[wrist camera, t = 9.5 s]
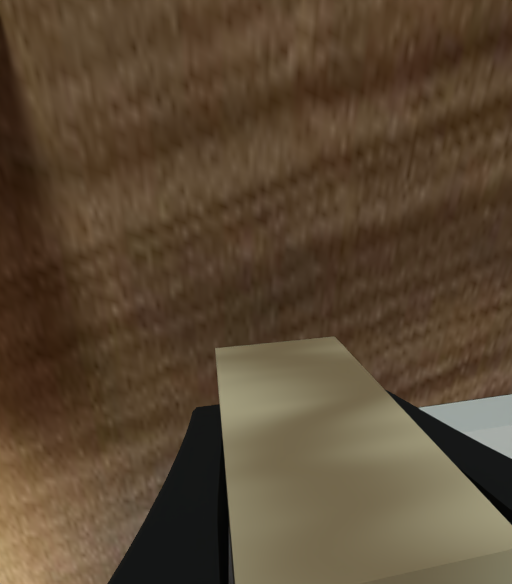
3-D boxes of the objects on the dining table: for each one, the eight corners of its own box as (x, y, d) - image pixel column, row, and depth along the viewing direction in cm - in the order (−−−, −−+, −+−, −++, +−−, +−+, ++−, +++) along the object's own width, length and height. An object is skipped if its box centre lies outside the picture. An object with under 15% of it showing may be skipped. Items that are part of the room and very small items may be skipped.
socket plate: (520, 393, 17) (560, 417, 16) (480, 546, 21) (508, 580, 19) (193, 440, 15) (192, 476, 13) (211, 607, 18) (212, 654, 16)
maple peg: (334, 336, 9) (530, 545, 4) (329, 433, 11) (476, 708, 5) (215, 348, 9) (237, 611, 3) (222, 449, 10) (248, 778, 4)
